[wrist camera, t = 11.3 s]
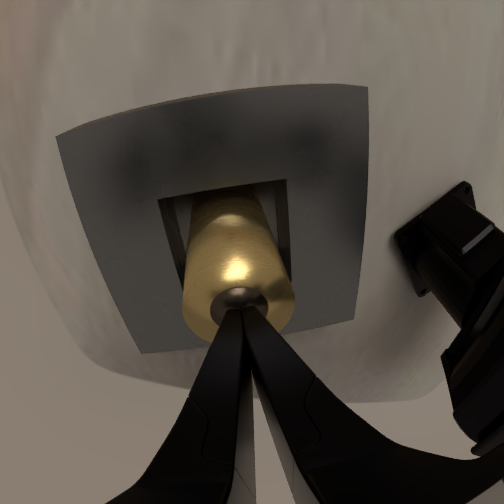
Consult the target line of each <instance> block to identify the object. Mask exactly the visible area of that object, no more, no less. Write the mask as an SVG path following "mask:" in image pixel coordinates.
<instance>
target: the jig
mask: <svg viewBox="0 0 504 504" xmlns="http://www.w3.org/2000/svg"><path fill="white" fill-rule="evenodd" d="M56 140H57V144H58V148H59V152H60V156H61V159H62V163H63V167H64V170H65V174H66V177H67V180H68V184H69V187H70V190H71V193H72V196H73V199H74V202H75V205H76V208H77V211H78V214H79V217H80V220H81V223H82V225H83V228H84V231H85V233H86V236H87V239H88V241H89V244H90V246H91V249H92V251H93V254H94V256H95V259H96V261H97V264H98V266H99V268H100V271H101V273H102V275H103V278H104V280H105V282H106V284H107V287H108V289H109V291H110V293H111V295H112V297H113V300H114V302H115V304H116V306H117V308H118V310H119V312H120V314H121V316H122V318H123V320H124V322H125V324H126V326H127V328H128V330H129V332H130V334H131V336H132V338H133V339H134V341H135V343H136V345H137V347H138V349H139V350H140V352H141V354H143V353H154V352H164V351H174V350H183V349H191V348H199V347H207V346H211V344H212V343H210V342H208V341H206V340H204V339H202V338H200V337H199V336H197V335H196V334H195V333H194V332H193V331H192V330H191V329H190V328H189V326H188V325H187V323H186V321H185V319H184V316H183V312H182V302H183V290H184V278H185V268H186V254H185V250H184V246H183V242H182V238H181V234H180V230H179V226H178V222H177V218H176V214H175V209H174V205H173V201H172V196H178V195H183V194H189V193H194V192H200V191H206V190H212V189H218V188H225V187H231V186H237V185H244V184H251V183H258V182H265V181H273V180H274V189H275V202H276V214H277V227H278V241H279V249H278V251H279V253H280V256H281V258H282V261H283V264H284V267H285V269H286V272H287V275H288V277H289V280H290V283H291V285H292V288H293V291H294V295H295V307H294V311H293V314H292V316H291V318H290V320H289V321H288V323H287V324H286V325H285V326H284V327H283V328H282V329H281V330H280V331H279V332H278V333H279V334H280V335H282V334H288V333H293V332H298V331H303V330H308V329H313V328H317V327H322V326H327V325H331V324H336V323H340V322H345V321H349V320H353V319H354V313H355V307H356V300H357V293H358V286H359V278H360V270H361V262H362V252H363V242H364V231H365V219H366V205H367V187H368V158H369V111H368V87H365V86H356V85H346V84H299V85H281V86H268V87H257V88H247V89H239V90H231V91H223V92H216V93H210V94H203V95H197V96H192V97H186V98H181V99H176V100H171V101H166V102H162V103H157V104H153V105H149V106H144V107H140V108H136V109H132V110H129V111H125V112H121V113H118V114H114V115H111V116H107V117H104V118H101V119H97V120H94V121H91V122H88V123H85V124H82V125H80V126H78V127H75V128H73V129H71V130H68V131H66V132H64V133H62V134H60V135H58V136H56Z"/></svg>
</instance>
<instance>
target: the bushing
mask: <svg viewBox="0 0 504 504" xmlns="http://www.w3.org/2000/svg"><path fill="white" fill-rule="evenodd" d="M251 305H254V306H256V307H257V309H258V310H259V311H260V312H261V313H262V314H263V316H264V317H265V318H266V319H267V320H268V321H269V322H270V324H271V325H272V326H273V327H274V328H275V329H276V331H277V332H279V331H280V330H281V329H282V328H283V327H284V326H285V325H286V324H287V323H288V321H289V320H290V318H291V316H292V314H293V311H294V307H295V295H294V291H293V288H292V285H291V283H290V280H289V277H288V275H287V272H286V269H285V267H284V264H283V261H282V258H281V256H280V253H279V251H278V248H277V245H276V243H275V240H274V237H273V235H272V232H271V229H270V227H269V224H268V222H267V219H266V216H265V214H264V211H263V209H262V206H261V203H260V201H259V199H258V197H257V195H256V194H255V193H254V192H253V191H252V190H251V189H250V188H249V187H247V186H246V185H237V186H231V187H225V188H218V189H212V190H206V191H201V192H200V193H199V195H198V196H197V197H196V199H195V201H194V204H193V207H192V214H191V222H190V230H189V239H188V248H187V258H186V268H185V278H184V290H183V302H182V312H183V316H184V319H185V321H186V323H187V325H188V326H189V328H190V329H191V330H192V331H193V332H194V333H195V334H196V335H197V336H199V337H200V338H202V339H204V340H206V341H208V342H210V343H212V341H213V339H214V337H215V335H216V332H217V330H218V328H219V326H220V324H221V321H222V319H223V317H224V315H225V312H226V311H227V310H228V309H233V308H240V309H241V308H242V307H245V306H251Z"/></svg>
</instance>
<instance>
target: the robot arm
mask: <svg viewBox="0 0 504 504" xmlns="http://www.w3.org/2000/svg"><path fill="white" fill-rule="evenodd" d="M402 236H404V237H403V238H402ZM401 238H402V239H401ZM394 241H395V243H396V246H397V248H398V250H399V253H400V255H401V257H402V260H403V262H404V265H405V267H406V270H407V272H408V275H409V277H410V280H411V282H412V285H413V288H414V290H415V292H416V294H417V295H418V296H419V297H423V296H425V295H426V294H427V293H429V292H430V291H431V292H432V293H433V294H434V295H435V296H436V298H437V299H438V300H439V301H440V303H441V304H442V305H443V306H444V308H445V309H446V310H447V312H448V313H449V314H450V315H451V317H452V318H453V319H454V321H455V322H456V323H457V325H458V326H459V327H460V329H461V330H460V332H459V333H458V335H457V336H456V338H455V339H454V340H453V342H452V343H451V345H450V346H449V348H448V349H445V351H444V352H443V354H442V355H441V361H442V364H443V368H444V372H445V376H446V379H447V384H448V388H449V392H450V397H451V401H452V406H453V411H454V412H453V417H454V419H455V421H456V423H457V424H458V426H459V427H460V429H461V430H462V431H463V432H464V433H465V434H466V435H467V437H469V438H470V439H472V440H473V441H474V442H476V443H477V444H476V445H475V446H474V447H472V448H471V453H472V454H474V455H477V456H480V458H476V459H472V460H459V459H453V458H449V457H444V456H440V455H436V454H432V453H428V452H424V451H420V450H417V449H413V448H409V447H406V446H403V445H400V444H398V443H395V442H394V441H392V440H390V439H388V438H387V437H385V436H384V435H382V434H381V433H380V432H379V431H377V430H376V429H375V428H373V427H372V426H371V425H370V424H368V423H367V422H366V421H365V420H363V419H362V418H361V417H360V416H358V415H357V414H356V413H354V412H353V411H352V410H351V409H350V408H349V407H347V406H346V405H345V404H344V403H343V402H342V401H341V400H339V399H338V398H337V397H336V396H335V395H334V394H333V393H332V392H331V391H330V390H329V389H328V388H327V387H326V386H325V385H324V383H323V382H322V381H321V380H320V379H319V378H318V377H316V375H315V374H314V372H313V371H312V370H311V369H310V368H309V367H308V366H307V365H306V364H305V362H304V361H303V360H302V359H301V358H300V357H299V356H298V355H297V353H296V352H295V351H294V350H293V349H292V348H291V347H290V345H289V344H288V343H287V342H286V341H285V340H284V339H283V337H282V336H281V335H280V334H279V333H278V332H277V331H276V329H275V328H274V327H273V326H272V325H271V324H270V322H269V321H268V320H267V319H266V318H265V317H264V316H263V314H262V313H261V312H260V311H259V310H258V309H257V307H256V306H254V305H251V306H245V307H242V308H241V309H240V308H233V309H228V310H227V311H226V312H225V315H224V317H223V319H222V321H221V324H220V326H219V328H218V330H217V332H216V335H215V337H214V339H213V341H212V344H211V346H210V348H209V350H208V353H207V355H206V357H205V359H204V362H203V364H202V366H201V368H200V370H199V373H198V375H197V377H196V379H195V382H194V384H193V386H192V388H191V391H190V393H189V397H188V398H187V399H186V402H185V404H184V406H183V408H182V410H181V412H180V414H179V416H178V418H177V420H176V423H175V424H174V426H173V428H172V429H171V431H170V433H169V434H168V436H167V438H166V440H165V441H164V443H163V444H162V446H161V447H160V449H159V450H158V452H157V454H156V455H155V457H154V458H153V460H152V461H151V463H150V465H149V466H148V468H147V469H146V471H145V472H144V474H143V475H142V476H141V478H140V479H139V480H138V481H137V482H136V483H135V484H134V485H133V486H131V487H130V488H129V489H128V490H126V491H124V492H123V493H121V494H120V495H118V496H117V497H115V498H113V499H112V500H110V501H109V502H107V503H106V504H256V487H255V455H254V454H255V452H254V420H253V386H252V375H253V379H254V382H255V385H256V389H257V392H258V395H259V398H260V401H261V404H262V407H263V410H264V413H265V416H266V419H267V423H268V425H269V428H270V432H271V435H272V437H273V440H274V443H275V446H276V449H277V452H278V455H279V458H280V461H281V464H282V467H283V470H284V472H285V475H286V478H287V481H288V484H289V486H290V489H291V492H292V494H293V498H294V500H295V503H296V504H504V232H502V231H501V230H500V229H498V228H497V227H496V226H495V224H494V223H493V222H492V221H491V220H489V219H488V218H487V217H485V216H484V215H483V214H481V213H480V212H478V211H477V210H476V206H475V200H474V195H473V191H472V186H471V184H469V183H468V182H466V181H462V182H461V183H459V184H458V185H457V186H456V187H454V188H453V189H452V190H451V191H449V192H448V193H447V194H446V195H444V196H443V197H442V198H440V199H439V200H438V201H437V202H435V203H434V204H433V205H431V206H430V207H429V208H427V209H426V210H425V211H423V212H422V213H421V214H419V215H418V216H417V217H415V218H414V219H413V220H411V221H410V222H409V223H407V224H406V225H405V226H403V227H402V228H400V229H399V230H398V231H397V232H396V233H395V235H394ZM251 370H252V372H251Z"/></svg>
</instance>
